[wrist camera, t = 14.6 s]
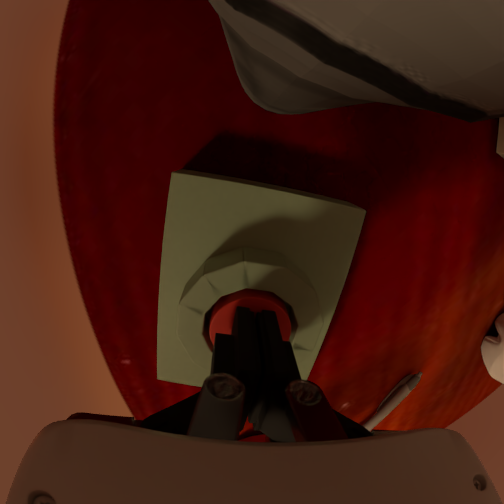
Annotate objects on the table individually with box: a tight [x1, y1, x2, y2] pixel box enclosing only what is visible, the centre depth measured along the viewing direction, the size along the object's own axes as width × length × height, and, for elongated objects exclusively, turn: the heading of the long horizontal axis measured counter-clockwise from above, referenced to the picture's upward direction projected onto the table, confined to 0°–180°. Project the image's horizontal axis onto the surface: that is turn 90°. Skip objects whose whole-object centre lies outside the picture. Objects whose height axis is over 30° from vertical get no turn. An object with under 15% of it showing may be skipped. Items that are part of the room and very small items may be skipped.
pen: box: [362, 372, 422, 431], centre depth 21 cm, size 1×14×1 cm, turn 152°
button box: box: [157, 169, 366, 387], centre depth 14 cm, size 12×9×4 cm
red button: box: [209, 288, 291, 345], centre depth 13 cm, size 4×4×2 cm
